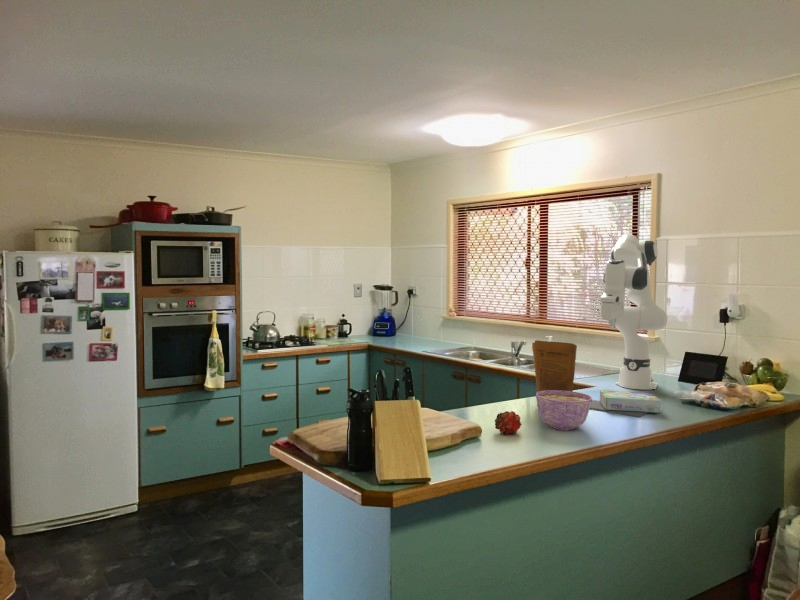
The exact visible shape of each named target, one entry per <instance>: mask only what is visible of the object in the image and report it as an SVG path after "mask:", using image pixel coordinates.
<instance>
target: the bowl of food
mask: <svg viewBox="0 0 800 600" xmlns="http://www.w3.org/2000/svg"><path fill="white" fill-rule="evenodd" d="M535 397H536V406H537V405H538V406H537V408H538V409H537V410H538V414H539V416H540V419H541V420H542V421H543V422H544V423H545V424H547V425H549V426H550V427H551V428H552V427H553V428H552V429H555V430H560V431H561V430H563V431H571V429H572V430H574V429H575V428H578V427H579V426H582V425H583V424H584V423H585V422H586V420H587V418H588V414H589V412H590V410H591V409H590V405H591V402H592V400H593V396H591V395H589V394H587V393H583V392H578V391H573V392H572V391H562V390H546V391H539V392H537V391H536V393H535Z"/></svg>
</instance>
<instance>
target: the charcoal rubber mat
mask: <svg viewBox="0 0 800 600" xmlns="http://www.w3.org/2000/svg"><path fill="white" fill-rule="evenodd" d="M592 409H593V411H601V412H605V411H606V412H607V413H611V412H612V413H613V414H618V415H624V416H632V417H635V418H636V417H637V418H641V417H643V416H645V415H647V414H648V413H649V412H638V411H620V410H606V409H605V408H604V406H603V405H602V404H601V403H600V400H598V399H597V400H596V399H592V402H591V405H590V409H589V410H592ZM612 413H611V414H612Z"/></svg>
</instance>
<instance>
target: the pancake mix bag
mask: <svg viewBox="0 0 800 600" xmlns="http://www.w3.org/2000/svg"><path fill="white" fill-rule="evenodd" d="M531 345H532V347H531V349H532V355H533V356H532V357H533V365H534V373H535V381H536V382H535V383H536V393H537V392H539V391H546V390H562V391H572V392H574V390H573V389H574V382H575V381H574V380H575V373H576V371H575V370H576V359H577V349H578V345H577V344H574V343H572V342H564V341H548V340H535V341H534V342H532V343H531ZM536 406H537V407H538V405H537V404H536Z"/></svg>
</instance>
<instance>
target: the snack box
mask: <svg viewBox="0 0 800 600" xmlns="http://www.w3.org/2000/svg"><path fill="white" fill-rule="evenodd" d="M599 401H600V403H601V404H602V405H603V406H604V408H605V409H606V410H620V411H638V412H648V413H657V414H658V413H661V400H660V399H659V398H657V396H655V395H654V394H653V393H652V392H651V393H648V392H633V391H618V390H616V391H615V390H599Z"/></svg>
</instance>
